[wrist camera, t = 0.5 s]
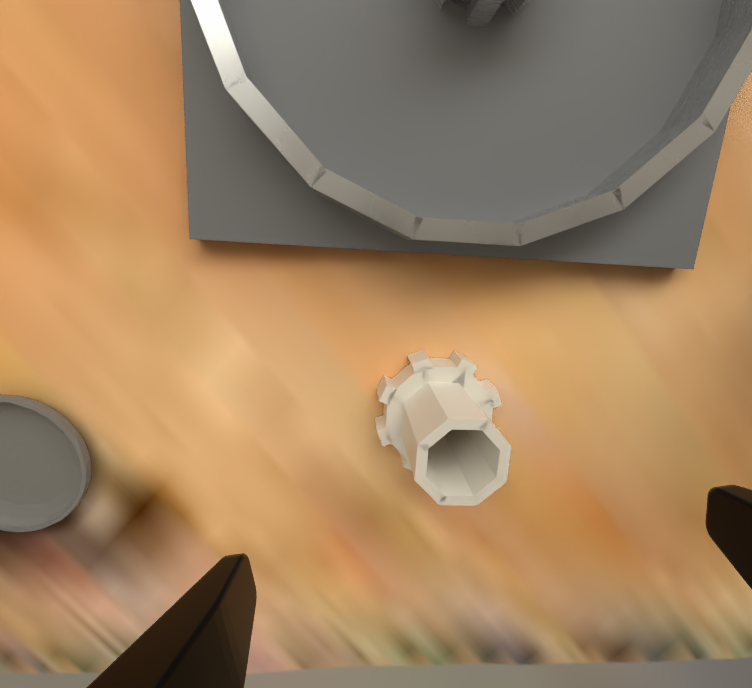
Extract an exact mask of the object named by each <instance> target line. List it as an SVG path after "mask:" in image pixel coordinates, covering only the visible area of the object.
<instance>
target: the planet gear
mask: <svg viewBox="0 0 752 688" xmlns="http://www.w3.org/2000/svg"><path fill="white" fill-rule="evenodd" d="M407 356H408V359H409V362H410V363H409V364H408V365H407V366H406V367H405V368H404V369H402V370H401V371H400V372H399V373H398V374H397V375H396V376H394V377H393V378H389V377H387V376H385V375H384V376H383V378H382V380H381V382H380V384H379V386H378V388H377V394H378V399H379V402H382V403H384V407H383V415H382V416H379V417H376V418H375V422H376V429H377V433H378V436H379V438H380V441H381V444H382V446H386V445H389V444H392V445H393V446H394V447H395V448H396V449H397V450H398V451H399V452H400V456H401V460H402V464H403V468H406V469H408V470H411V471H412V473H413V477H414V480H415V481H416V482H417V483H418V484H419V485H420V486H421V487H422V488H423V489H424V490H425V491H426V492H427V493H428V494H429V495H430V496H431V497H432V498H433V499H434V500H435V501H436V502H437V503H438V504H439V505H467V506H477V505H478V504H479V503H481V502H482V501H483V500H485V499H486V498H487V497H488V496H490V495H491V494H492V493H493V492H495V491H496V490H497V489H498V488H500V487H501V486H502V485H503V484H505V483H506V482H507V476H508V469H509V462H510V455H511V448H512V446H511V445H510V444H509V443H508V441H507V440H506V439H505V438H504V436H503V435H502V434H501V433H500V431H499V430H498V429H497V428H496V426H495V425H494V424H493V423H492V421H491V420H492V413H493V408H495V407H498V406H501V405H502V404H501V401H500V397H499V394H498V390H497V389H496V388H495V387H494V386H493V385H492V384H491V383H490V382H489V381H488V380H487V379H485V380H482V381H478V380H477V379H476V378H475V377H474V376H473V374H474V372H475V370H476V369H477V366H476V365H475V364H474V363H473V362H472V361H471V360H470V359H469V358H468V357H466V356H464V355H461V354H459V353H457V352H455V351H453V353H452V354H451V356H450V358H429V357H428V356H427V354H426V353H425V351H424V350H420V351H417V352H415V353H412V354H409V355H407Z"/></svg>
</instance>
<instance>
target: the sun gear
mask: <svg viewBox="0 0 752 688" xmlns="http://www.w3.org/2000/svg"><path fill="white" fill-rule="evenodd" d="M434 1H435V2H436V4H437V5H438V6H439V8H440V9H442V8H443V7H444V6H445V5H446V4H447V3H448V2H449V1H450V0H434ZM452 1H453V2H454V3H456V4H457V5H458V6H460V7H462V8H464V9H467V13H466V23H465V25H473V26H483V27H486V26H487V25H488V23H489V22H490V20H491V19H492V17H493V15H494V14H495V12H496V11H497V9H499V8H501V7H503V6H506V8H507V9H508V11H509V12H510V14H511V15H512V17H513V16H515V15H516V14H517V13H518V12H519V11H520V10H521V9H522V8H523V7H524V6H525V5H526V4H527V3H528V2H529V1H530V0H452Z"/></svg>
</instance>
